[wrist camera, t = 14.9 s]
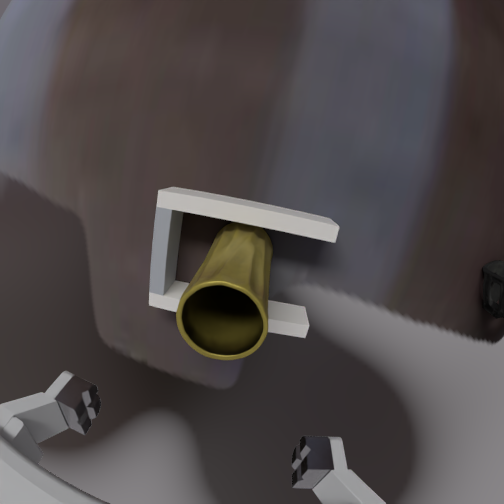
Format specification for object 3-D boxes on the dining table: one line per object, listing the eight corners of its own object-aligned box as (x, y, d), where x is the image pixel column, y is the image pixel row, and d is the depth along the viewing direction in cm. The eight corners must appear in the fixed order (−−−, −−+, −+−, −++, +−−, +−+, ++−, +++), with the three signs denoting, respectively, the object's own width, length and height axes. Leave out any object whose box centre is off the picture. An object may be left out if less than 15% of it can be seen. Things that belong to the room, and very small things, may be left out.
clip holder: (329, 218, 27) (339, 226, 23) (301, 318, 30) (305, 338, 27) (173, 186, 27) (158, 190, 23) (162, 289, 30) (148, 305, 26)
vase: (247, 208, 27) (227, 249, 14) (284, 256, 28) (299, 334, 15) (201, 244, 29) (147, 311, 15) (238, 288, 30) (216, 380, 16)
